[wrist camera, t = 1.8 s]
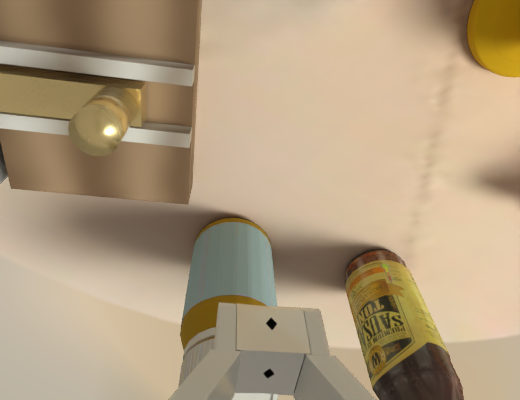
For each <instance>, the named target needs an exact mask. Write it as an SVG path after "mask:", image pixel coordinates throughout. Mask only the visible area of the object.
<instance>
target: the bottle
mask: <svg viewBox="0 0 520 400" xmlns="http://www.w3.org/2000/svg"><path fill="white" fill-rule="evenodd" d="M219 302H220V303H232V304H247V305H258V306H276V307H277V300H276V290H275V280H274V270H273V260H272V250H271V244H270V240H269V238H268V236H267V234H266V233H265V232H264V231H263V230H262V229H261V228H260V227H259V226H258V225H256V224H254V223H252V222H250V221H248V220H244V219H239V218H225V219H221V220H218V221H214V222H212V223H210V224H209V225H207V226H206V227H205V228H203V229H202V230H201V232H200V233H199V234H198V236H197V238H196V241H195V245H194V249H193V255H192V261H191V268H190V274H189V280H188V286H187V293H186V299H185V305H184V311H183V318H182V324H181V333H180V336H181V341H182V345H183V349H184V355H183V362H182V366H181V373H180V380H179V386H180V385H181V384H182V383H183V382H184V380H185V379H186V378H187V377H188V376H189V374H190V373H191V372H192V371H193V370H194V368H195V367H196V366H197V365H198V364H199V362H200V361H201V360H202V359H203V358H204V356H205V355H206V354H207V353H208V352H209V350H210V349H211V350H214V340H215V330H216V321H217V312H218V304H219ZM178 388H179V387H178ZM232 400H278V394H265V393H235V395H234V397H233V398H232Z"/></svg>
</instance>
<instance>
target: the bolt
mask: <svg viewBox="0 0 520 400" xmlns="http://www.w3.org/2000/svg"><path fill="white" fill-rule="evenodd" d="M0 112H8V113H17V114H26V115H36V116H45V117H54V118H63V119H71V120H70V122H69V125H68V132H69V136H70V139H71V140H72V142H73V143H74V145H75V146H76V147H77V148H78V149H80V150H81V151H82V152H84V153H86V154H89V155H92V156H106V155H108V154H110V153H112V152H113V151H114V150H115V149H116V148H117V146H118V145H119V143H120V142H121V140H122V138H123V137H124V135H125V134H126V132H127V130H128V129H129V127H130V126H137V127H142V125H143V123H144V122H145V120H146V118H147V115H146V82H139V81H130V80H122V79H114V78H105V77H97V76H89V75H80V74H72V73H64V72H55V71H47V70H39V69H30V68H22V67H14V66H5V65H0Z"/></svg>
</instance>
